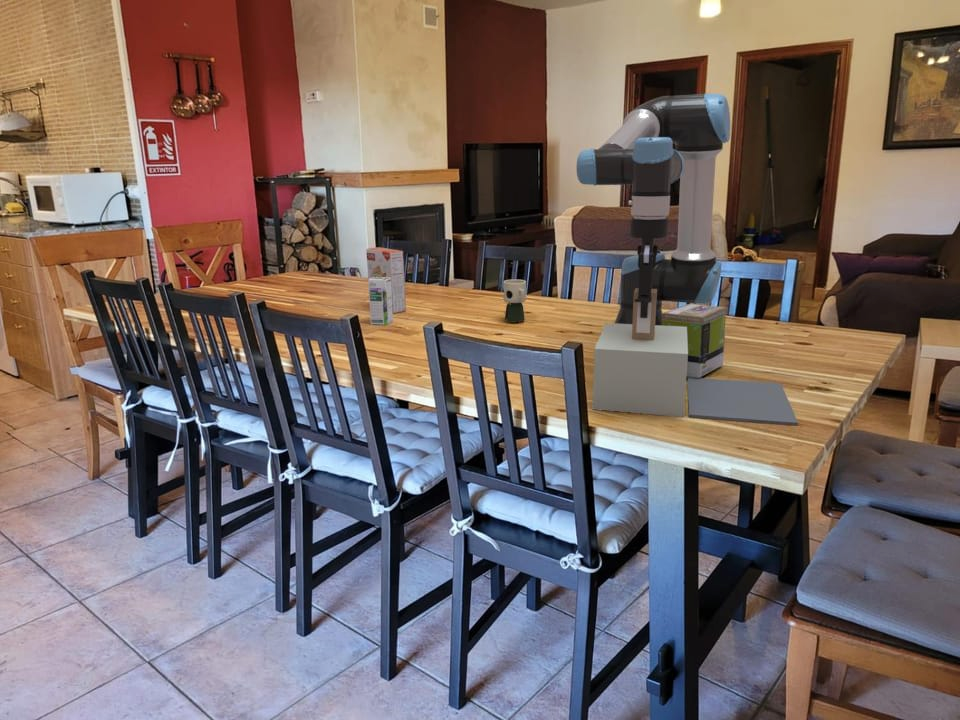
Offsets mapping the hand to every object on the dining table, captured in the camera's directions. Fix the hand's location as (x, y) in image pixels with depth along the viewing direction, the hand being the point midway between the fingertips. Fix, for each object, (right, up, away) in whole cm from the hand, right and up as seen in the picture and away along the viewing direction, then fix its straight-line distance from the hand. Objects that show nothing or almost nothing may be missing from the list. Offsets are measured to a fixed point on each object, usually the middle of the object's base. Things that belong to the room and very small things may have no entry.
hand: (643, 329), depth 148 cm
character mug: (-24, +5, +73) cm, 77 cm away
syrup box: (-66, +5, +75) cm, 100 cm away
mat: (+20, -15, 0) cm, 25 cm away
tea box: (+16, -9, +21) cm, 28 cm away
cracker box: (-67, +11, +94) cm, 115 cm away
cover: (0, -14, +4) cm, 15 cm away
